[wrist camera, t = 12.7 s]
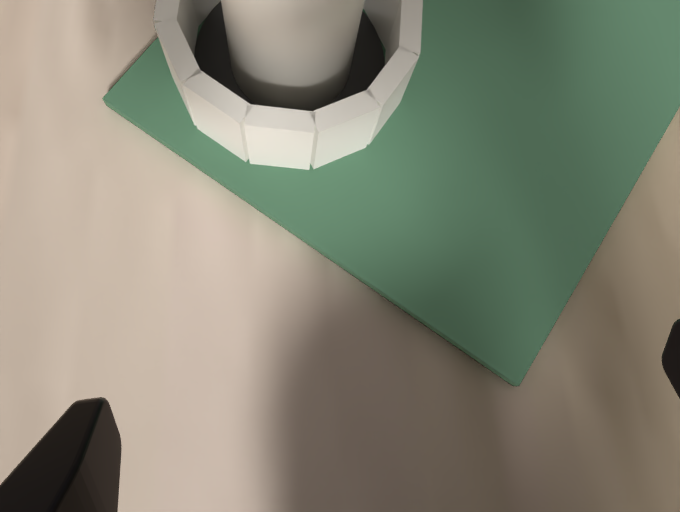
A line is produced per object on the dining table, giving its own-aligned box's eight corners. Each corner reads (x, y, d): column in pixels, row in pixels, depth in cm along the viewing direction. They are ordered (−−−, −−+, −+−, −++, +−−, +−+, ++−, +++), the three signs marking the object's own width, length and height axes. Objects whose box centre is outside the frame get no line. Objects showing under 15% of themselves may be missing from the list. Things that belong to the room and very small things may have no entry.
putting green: (717, 31, 28) (790, -29, 24) (512, 385, 23) (561, 385, 19) (372, -191, 29) (386, -284, 25) (106, 105, 24) (71, 48, 20)
